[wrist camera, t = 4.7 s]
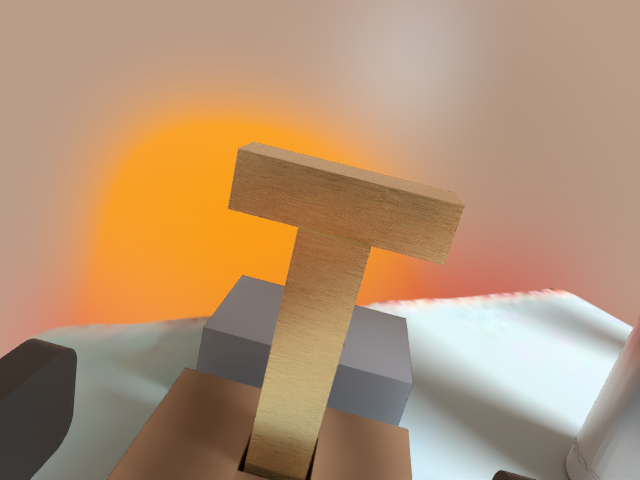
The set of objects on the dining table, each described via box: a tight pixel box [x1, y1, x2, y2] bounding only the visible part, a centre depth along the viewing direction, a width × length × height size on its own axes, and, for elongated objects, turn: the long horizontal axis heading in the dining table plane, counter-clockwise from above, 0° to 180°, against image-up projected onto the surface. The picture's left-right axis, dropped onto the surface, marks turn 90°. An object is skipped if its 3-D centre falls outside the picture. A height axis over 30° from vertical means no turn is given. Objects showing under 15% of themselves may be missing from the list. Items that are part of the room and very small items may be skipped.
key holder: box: [196, 275, 413, 427], centre depth 35 cm, size 14×9×6 cm, turn 82°
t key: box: [228, 142, 464, 480], centre depth 22 cm, size 9×3×18 cm, turn 82°
